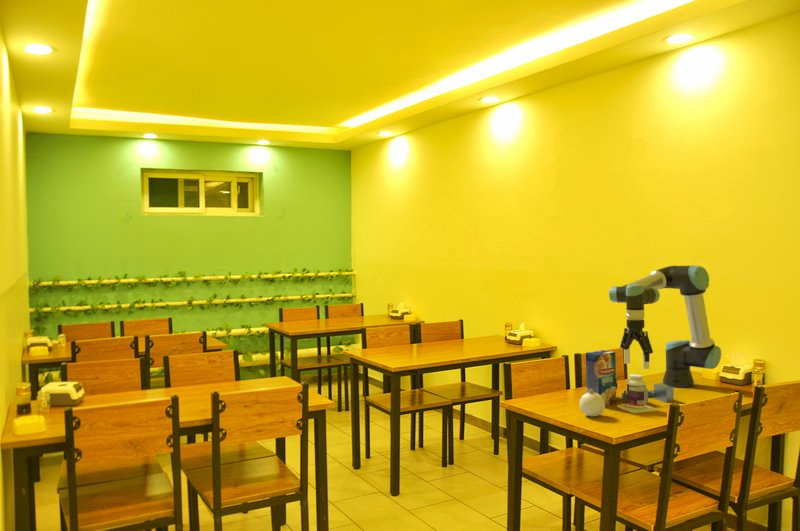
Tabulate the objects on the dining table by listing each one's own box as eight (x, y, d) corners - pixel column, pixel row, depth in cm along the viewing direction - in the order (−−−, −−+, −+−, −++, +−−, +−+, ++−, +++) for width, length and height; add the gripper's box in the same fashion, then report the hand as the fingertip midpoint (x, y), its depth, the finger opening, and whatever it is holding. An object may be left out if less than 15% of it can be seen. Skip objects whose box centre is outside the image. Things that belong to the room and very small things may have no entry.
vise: (653, 395, 314) (653, 381, 314) (673, 401, 300) (673, 386, 300) (611, 399, 308) (611, 384, 308) (630, 406, 294) (629, 390, 294)
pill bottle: (632, 404, 294) (631, 372, 294) (649, 406, 288) (648, 374, 288) (623, 407, 288) (623, 375, 288) (641, 410, 283) (640, 377, 282)
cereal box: (599, 407, 293) (598, 354, 292) (586, 404, 299) (585, 352, 299) (616, 403, 300) (615, 352, 299) (603, 400, 306) (602, 350, 305)
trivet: (639, 404, 296) (639, 403, 296) (656, 410, 284) (656, 409, 284) (617, 407, 292) (617, 405, 292) (633, 413, 281) (633, 411, 281)
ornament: (590, 420, 271) (590, 392, 271) (575, 414, 280) (574, 387, 280) (609, 417, 275) (609, 389, 275) (593, 412, 285) (593, 385, 284)
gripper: (611, 316, 298) (612, 362, 299) (645, 322, 274) (646, 371, 275) (625, 315, 300) (626, 360, 301) (660, 321, 276) (661, 370, 277)
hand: (636, 366), depth 288 cm, fingers open, 13 cm apart
